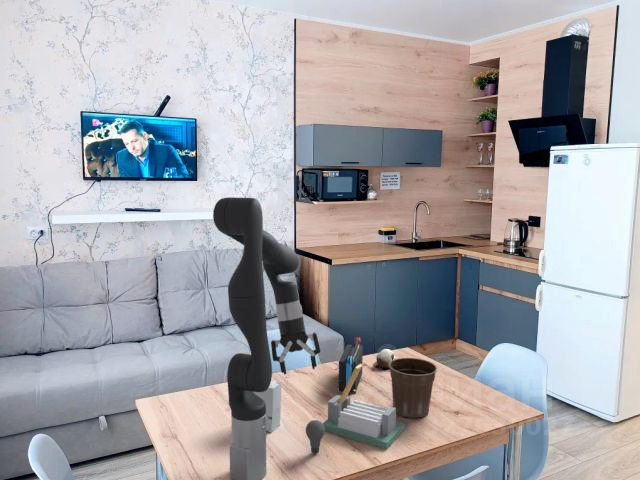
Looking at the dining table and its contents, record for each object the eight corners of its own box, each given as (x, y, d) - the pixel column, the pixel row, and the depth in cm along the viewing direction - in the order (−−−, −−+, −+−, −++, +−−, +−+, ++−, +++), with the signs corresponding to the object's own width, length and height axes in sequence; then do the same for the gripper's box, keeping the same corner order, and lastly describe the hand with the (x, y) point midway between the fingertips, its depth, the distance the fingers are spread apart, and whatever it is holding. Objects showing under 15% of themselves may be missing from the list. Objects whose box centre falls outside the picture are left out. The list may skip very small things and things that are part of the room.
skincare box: (250, 427, 171) (249, 383, 169) (259, 419, 176) (259, 376, 174) (273, 433, 167) (272, 388, 165) (282, 425, 173) (282, 381, 171)
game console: (353, 398, 193) (354, 359, 191) (336, 396, 194) (337, 358, 192) (363, 370, 220) (364, 336, 218) (348, 368, 222) (348, 335, 220)
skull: (383, 356, 234) (396, 343, 228) (396, 376, 229) (410, 364, 223) (365, 362, 226) (378, 348, 220) (377, 383, 221) (391, 370, 215)
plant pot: (437, 403, 189) (438, 360, 187) (434, 424, 173) (435, 377, 171) (391, 398, 193) (392, 355, 191) (384, 418, 178) (385, 371, 176)
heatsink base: (387, 449, 158) (387, 422, 157) (321, 430, 169) (321, 404, 168) (404, 429, 170) (405, 404, 169) (342, 413, 181) (342, 389, 180)
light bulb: (319, 446, 159) (319, 415, 158) (328, 455, 154) (328, 422, 153) (302, 451, 156) (302, 419, 155) (311, 460, 152) (311, 427, 150)
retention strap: (339, 405, 171) (337, 404, 171) (344, 401, 174) (342, 400, 174) (357, 368, 166) (355, 367, 166) (362, 365, 169) (360, 363, 169)
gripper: (265, 323, 154) (275, 378, 154) (314, 314, 155) (323, 369, 155) (267, 320, 162) (276, 373, 162) (313, 311, 163) (322, 364, 162)
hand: (299, 371), depth 158 cm, fingers open, 8 cm apart
